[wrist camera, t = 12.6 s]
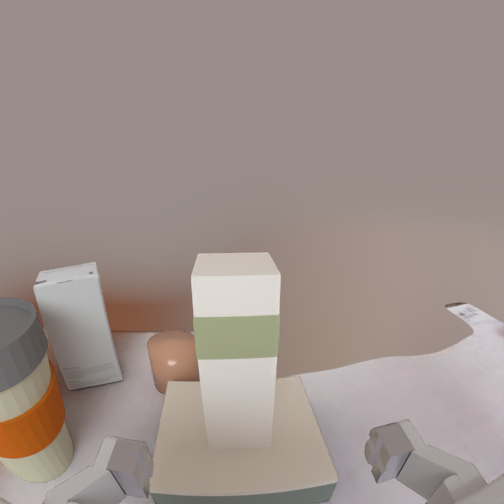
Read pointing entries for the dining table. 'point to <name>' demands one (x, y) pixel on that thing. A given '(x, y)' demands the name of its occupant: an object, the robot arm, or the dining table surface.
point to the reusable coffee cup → (30, 398)
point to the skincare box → (78, 325)
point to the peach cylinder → (173, 358)
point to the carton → (237, 346)
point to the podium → (240, 455)
